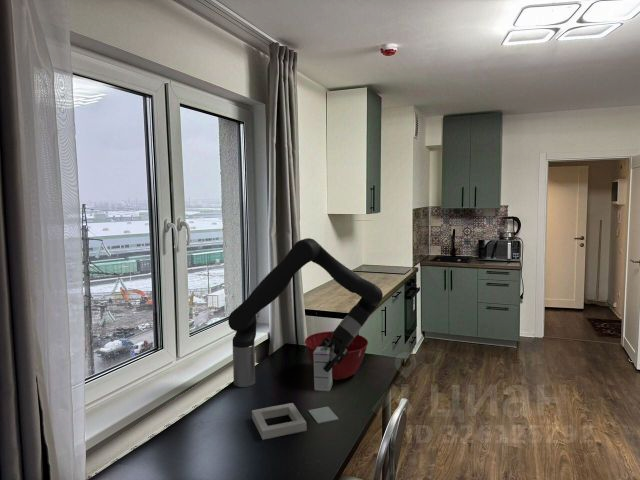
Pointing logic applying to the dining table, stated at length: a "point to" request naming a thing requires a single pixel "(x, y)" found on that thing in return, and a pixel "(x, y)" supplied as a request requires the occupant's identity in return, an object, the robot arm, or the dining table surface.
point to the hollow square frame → (279, 429)
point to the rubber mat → (323, 415)
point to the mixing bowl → (347, 364)
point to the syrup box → (320, 375)
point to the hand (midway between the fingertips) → (319, 366)
